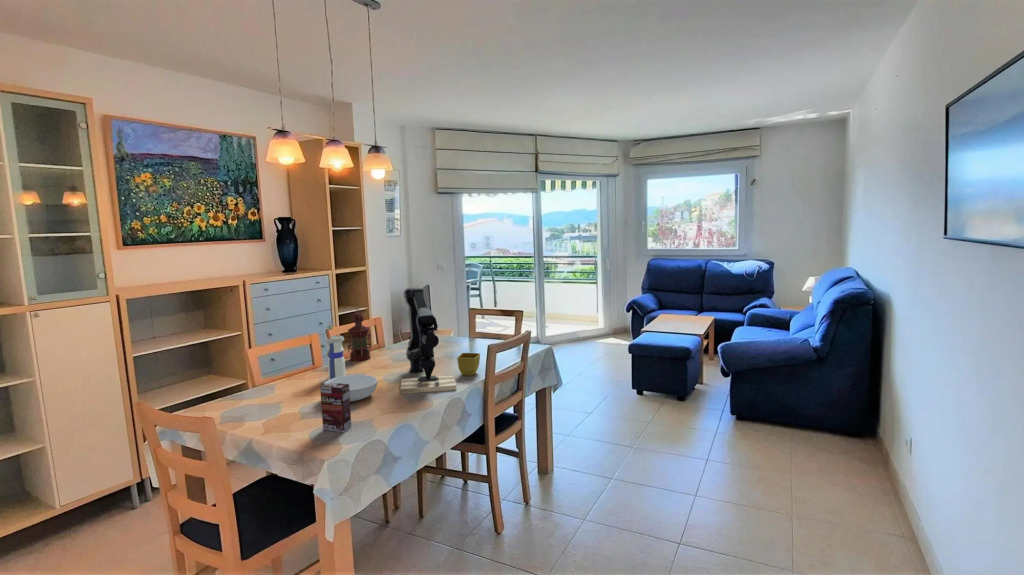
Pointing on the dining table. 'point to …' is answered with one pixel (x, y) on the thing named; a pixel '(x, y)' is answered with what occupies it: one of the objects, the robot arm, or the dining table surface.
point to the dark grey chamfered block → (424, 379)
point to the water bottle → (335, 356)
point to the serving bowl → (357, 385)
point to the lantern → (359, 339)
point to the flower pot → (468, 363)
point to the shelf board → (428, 385)
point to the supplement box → (335, 407)
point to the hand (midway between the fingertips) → (428, 377)
